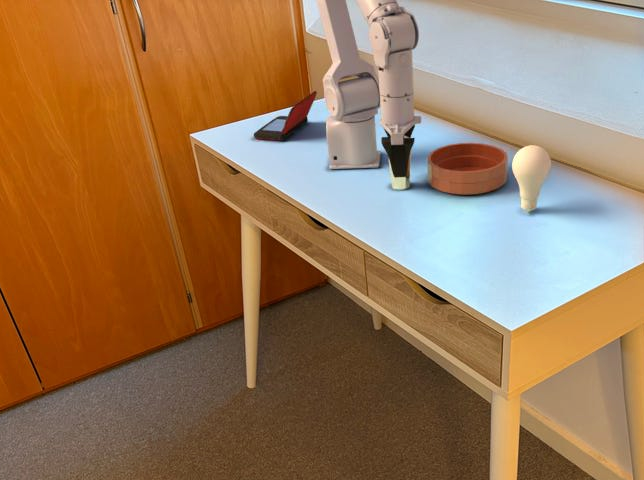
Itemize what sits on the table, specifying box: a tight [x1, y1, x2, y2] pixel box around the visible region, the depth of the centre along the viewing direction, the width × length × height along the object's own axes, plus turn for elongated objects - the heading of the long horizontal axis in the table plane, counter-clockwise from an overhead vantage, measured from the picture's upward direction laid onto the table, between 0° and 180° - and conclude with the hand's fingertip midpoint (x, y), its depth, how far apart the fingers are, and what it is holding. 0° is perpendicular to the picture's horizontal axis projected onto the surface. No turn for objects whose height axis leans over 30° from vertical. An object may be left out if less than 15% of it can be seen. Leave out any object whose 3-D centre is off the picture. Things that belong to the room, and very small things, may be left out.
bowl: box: [427, 142, 509, 196], centre depth 130 cm, size 14×14×4 cm
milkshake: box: [387, 136, 412, 191], centre depth 128 cm, size 4×5×10 cm
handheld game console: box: [253, 90, 318, 142], centre depth 155 cm, size 12×11×7 cm
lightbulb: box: [511, 144, 552, 213], centre depth 116 cm, size 6×6×11 cm
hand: (400, 170), depth 129 cm, fingers open, 5 cm apart
